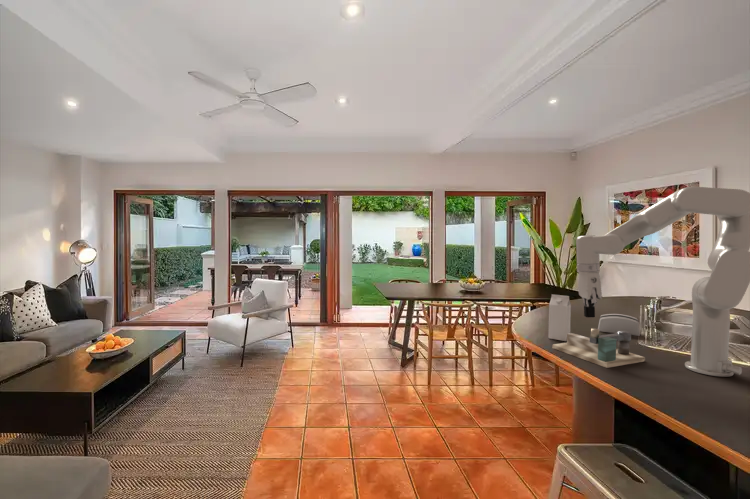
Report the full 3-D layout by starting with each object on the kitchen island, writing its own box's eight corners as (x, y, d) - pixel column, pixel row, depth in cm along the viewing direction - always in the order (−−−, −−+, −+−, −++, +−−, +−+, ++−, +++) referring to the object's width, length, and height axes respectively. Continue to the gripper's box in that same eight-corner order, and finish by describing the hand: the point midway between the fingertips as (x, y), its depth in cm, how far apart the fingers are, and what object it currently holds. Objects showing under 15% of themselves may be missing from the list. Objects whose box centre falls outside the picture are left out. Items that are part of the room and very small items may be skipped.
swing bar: (622, 337, 149) (622, 323, 148) (633, 340, 145) (634, 326, 144) (586, 343, 142) (587, 328, 142) (597, 346, 138) (598, 330, 137)
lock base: (644, 361, 142) (645, 336, 141) (606, 367, 135) (607, 342, 134) (587, 343, 164) (587, 322, 164) (552, 348, 157) (552, 325, 157)
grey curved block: (639, 333, 180) (640, 314, 177) (640, 339, 176) (641, 319, 173) (597, 328, 188) (598, 310, 185) (597, 334, 185) (598, 315, 181)
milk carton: (552, 335, 177) (553, 293, 176) (570, 338, 172) (571, 295, 171) (548, 338, 171) (549, 295, 170) (565, 341, 167) (567, 297, 166)
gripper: (607, 269, 139) (609, 321, 140) (590, 266, 154) (592, 312, 154) (585, 270, 140) (586, 321, 141) (570, 267, 155) (571, 313, 155)
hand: (589, 316), depth 148 cm, fingers closed
